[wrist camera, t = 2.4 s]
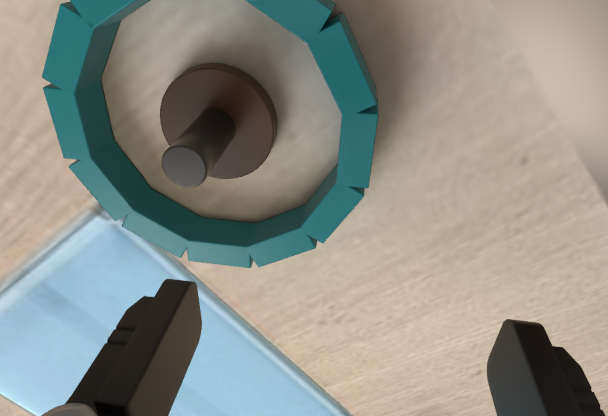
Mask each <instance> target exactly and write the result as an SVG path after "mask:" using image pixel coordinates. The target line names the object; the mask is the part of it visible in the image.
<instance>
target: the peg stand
mask: <svg viewBox="0 0 608 416" xmlns="http://www.w3.org/2000/svg"><path fill="white" fill-rule="evenodd" d="M160 119H161V126H162V130H163V133H164V136H165V138H166V140H167V142H168V144H169V146H170V147H169V148H168V149H167V150H166V151H165V152H164V154H163V156H162V167H163V170H164V172H165V174H166V175H167V177H168V178H169V179H170V180H171V181H173V182H174V183H176V184H178V185H180V186H183V187H195V186H198V185H200V184H201V183H203V181H204V180H205V179H206V177H207V176H210V177H214V178H220V179H231V178H237V177H242V176H244V175H247V174H249V173H251V172H253V171H254V170H256V169H257V168H258V167H259V166H260V165H262V164H263V162H264V161H265V160H266V158H267V157H268V155H269V153H270V151H271V149H272V147H273V144H274V142H275V138H276V134H277V118H276V113H275V110H274V107H273V104H272V102H271V100H270V98H269V96H268V95H267V93H266V91H265V90H264V89H263V88H262V86H261V85H260V84H259V83H258V82H257V81H256V80H255V79H253V78H252V77H251V76H249V75H248V74H247V73H245V72H243V71H241V70H239V69H237V68H235V67H232V66H228V65H225V64H218V63H209V64H202V65H199V66H195V67H193V68H191V69H189V70H187V71H186V72H185V73H183V74H182V75H180V76H179V77H178V78H176V79H175V80H174V81H173V82H172V83H171V84H170V86H169V87H168V88H167V90H166V92H165V94H164V96H163V99H162V103H161V109H160Z"/></svg>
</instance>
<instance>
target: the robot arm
mask: <svg viewBox="0 0 608 416" xmlns="http://www.w3.org/2000/svg"><path fill="white" fill-rule="evenodd" d="M201 328H202V319H201V312H200V305H199V298H198V290H197V285H196V283H195V282H191V281H182V280H173V279H166V280H165V281H164V282H163V283H162V285H161V287H160V288H159V290H158V292H157V293H156V295H155V297H147V296H144V297H142V298H141V299H140V300H139V301H137V302H136V303H135V304H134V305H132V306H131V307H130V308H129V309H127V311H126V312H125V314H124V315H123V317H122V318H121V320H120V321H119V323H118V325H117V326H116V330H114V331H113V332H112V334H111V335H110V337H109V338H108V341H107V344H105V345H104V346H103V348H102V349H101V351H100V352H99V354H98V355H97V357H96V358H95V360H94V362H93V363H92V365H91V366H90V368H89V369H88V371H87V372H86V374H85V375H84V377H83V379H82V380H81V382H80V383H79V385H78V386H77V388H76V389H75V391H74V392H73V394H72V395H71V397H70V398H69V400H68V401H67V402H66V403H65V404H64V405H61V406H58V407H55V408H53V409H51V410H49V411H48V412H46V413H44V414H43V415H42V416H168V415H169V412H170V410H171V408H172V405H173V403H174V400H175V398H176V396H177V393H178V391H179V388H180V386H181V384H182V381H183V379H184V376H185V374H186V372H187V369H188V367H189V364H190V362H191V360H192V357H193V355H194V352H195V350H196V348H197V345H198V343H199V339H200V335H201ZM487 378H488V383H489V387H490V391H491V394H492V398H493V402H494V405H495V409H496V413H497V416H605V414H604V412H603V410H601V409H600V404H599V402H598V400H597V398H596V396H595V394H594V392H592V391H591V386H590V384H589V382H588V380H587V378H586V376H585V374H584V372H583V370H582V368H581V366H580V365H579V364H578V363H577V362H576V361H575V360H574V359H573V358H572V357H571V356H570V355H569V354H568V352H567V351H566V350H565V349H564V348H563V347H555V346H552V344H551V342H550V340H549V338H548V336H547V333H546V331H545V329H544V327H543V326H542V325H541V324H540V323H536V322H528V321H519V320H510V319H507V320H505V321H504V323H503V325H502V327H501V329H500V332H499V334H498V337H497V339H496V341H495V344H494V346H493V349H492V351H491V353H490V356H489V359H488V364H487Z"/></svg>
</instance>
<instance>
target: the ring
mask: <svg viewBox="0 0 608 416" xmlns="http://www.w3.org/2000/svg"><path fill="white" fill-rule="evenodd" d="M70 1H71V2H66V3H62V4H60V7H59V11H58V15H57V19H56V23H55V27H54V31H53V35H52V39H51V43H50V47H49V51H48V55H47V59H46V63H45V67H44V71H43V75H42V78H44V79H45V80H47V81H49V82H50V83H52V84H50V85H47V86H45V87H44V88H43V90H44V93H45V96H46V100H47V103H48V106H49V110H50V113H51V116H52V120H53V123H54V127H55V130H56V133H57V137H58V140H59V143H60V147H61V150H62V153H63V157H64V158H67V159H77V160H76V161H75V162H74V163H72V164H71V165H70V166H69V168H70V169H71V170H72V172H73V173H74V174H75V175H76V176H77V177H78V179H79V180H80V181H81V182H82V183H83V184H84V186H85V187H86V188H87V189H88V190H89V191H90V193H91V194H92V195H93V196H94V197H95V199H96V200H97V201H98V202H99V203H100V204H101V206H102V207H103V208H104V209H105V210H106V211H107V213H108V214H109V215H110V216H111V217H112V218H113V220H114V221H116V220H118V219H120V218H122V217H125V216H126V218H125V220H124V222H123V224H122V227H124V228H126V229H127V230H129V231H131V232H133V233H135V234H137V235H138V236H140V237H142V238H144V239H146V240H148V241H149V242H151V243H153V244H155V245H157V246H159V247H161V248H162V249H164V250H166V251H168V252H170V253H172V254H173V255H175V256H177V257H179V258H181V257H182V255H183V254H184V252H185V251H186V249H187V253H188V260H189V261H195V262H204V263H212V264H221V265H229V266H238V267H246V268H251V266H252V263H253V260H254V261H255V263H256V264H257V266H258V267H261V266H264V265H267V264H270V263H273V262H276V261H279V260H282V259H285V258H288V257H291V256H294V255H297V254H300V253H303V252H306V251H309V250H312V249H315V248H316V245H317V241H319V242H321V243H324V242H325V241H326V239H327V238H328V237H329V236H330V235H331V234H332V233H333V231H334V230H335V229H336V228H337V227H338V226H339V225H340V223H341V222H342V221H343V220H344V219H345V218H346V216H347V215H348V214H349V213H350V212H351V211H352V210H353V208H354V207H355V206H356V205H357V204H358V203H359V202H360V200H361V199H362V198H363V197H364V188H368V187H369V180H370V173H371V165H372V158H373V151H374V144H375V136H376V129H377V122H378V98H376V86H375V84H374V82H373V79H372V77H371V75H370V72H369V70H368V68H367V66H366V63H365V61H364V59H363V56H362V54H361V52H360V49H359V47H358V45H357V43H356V40H355V38H354V36H353V33H352V31H351V29H350V26H349V24H348V22H347V19H346V17H345V15H344V13H341V14H339V15H337V16H335V17H333V18H332V19H330V20H328V21H327V19H328V18H329V16H330V14H331V13H332V11H333V9H334V7H335V5H336V3H335V2H334V1H332V0H246V1H247V2H249V3H250V4H252V5H253V6H254V7H256V8H257V9H259V10H260V11H262V12H263V13H264V14H266V15H267V16H269V17H270V18H272V19H273V20H274V21H276V22H277V23H279V24H280V25H282V26H283V27H285V28H286V29H287V30H289V31H290V32H292V33H293V34H295V35H296V36H297V37H299V38H300V39H302V40H303V41H305V42H306V43H307V44H308V46H309V48H310V50H311V52H312V54H313V56H314V58H315V60H316V62H317V64H318V66H319V68H320V70H321V72H322V74H323V77H324V79H325V81H326V83H327V85H328V87H329V89H330V91H331V93H332V95H333V97H334V99H335V101H336V103H337V105H338V107H339V109H340V111H341V113H342V124H341V135H340V146H339V157H338V164H337V165H336V166H335V167H334V169H333V170H332V171H331V173H330V174H329V175H328V176H327V178H326V179H325V180H324V182H323V183H322V184H321V185H320V187H319V188H318V189H317V191H316V192H315V193H314V194H313V196H312V197H311V198H310V200H309V201H308V202H307V203H306V205H303V206H301V207H298V208H296V209H293V210H290V211H288V212H285V213H282V214H280V215H277V216H275V217H272V218H269V219H267V220H264V221H261V222H259V223H247V222H238V221H229V220H220V219H210V218H202V217H200V216H198V215H197V214H195V213H193V212H191V211H190V210H188V209H186V208H184V207H183V206H181V205H179V204H177V203H176V202H174V201H172V200H170V199H168V198H167V197H165V196H163V195H161V194H160V193H158V192H156V191H154V190H153V189H151V187H150V186H149V185H148V184H147V182H146V181H145V180H144V178H143V177H142V176H141V175H140V173H139V172H138V171H137V169H136V168H135V167H134V165H133V164H132V163H131V162H130V160H129V159H128V158H127V156H126V155H125V154H124V153H123V151H122V150H121V149H120V147H119V146H118V145H117V143H116V142H115V141H114V139H113V134H112V130H111V125H110V121H109V117H108V112H107V108H106V103H105V99H104V94H103V90H102V85H101V81H100V80H101V77H102V74H103V71H104V68H105V65H106V62H107V59H108V56H109V53H110V50H111V47H112V44H113V41H114V38H115V35H116V32H117V29H118V26H119V23H120V20H122V19H123V18H125V17H126V16H128V15H129V14H131V13H132V12H134V11H135V10H137V9H138V8H140V7H141V6H143V5H144V4H146V3H147V2H149V1H150V0H70Z"/></svg>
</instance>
